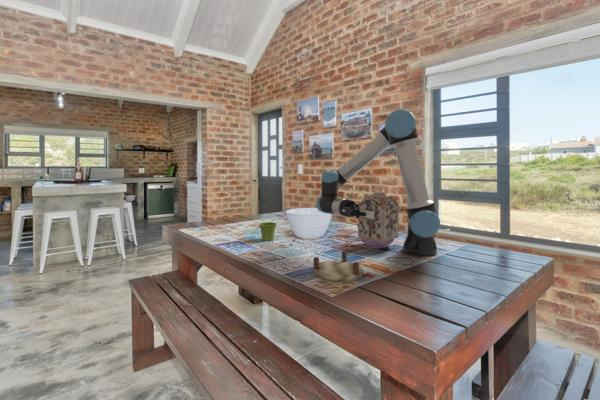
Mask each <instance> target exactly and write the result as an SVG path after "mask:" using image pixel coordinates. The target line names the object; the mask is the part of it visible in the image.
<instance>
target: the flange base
mask: <svg viewBox="0 0 600 400" xmlns="http://www.w3.org/2000/svg"><path fill="white" fill-rule="evenodd" d="M347 257H348V252H347V250H342V251H341V260H323V261H320V257H319V256H315V257H313V266H312V267H313V270H314V271H313V272H314V275H315V276H316V277H318V278H320V279H323V280H325V281H330V282H337V283H338V282H340V283H342V282H344V283H345V282H353V281H354V282H355V281H357V280H359V279H361V278H362V277H363V275H364V268H363V267H362V266H361V265H359V262H357V261H355V262H352V261H347V260H348V258H347Z"/></svg>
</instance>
